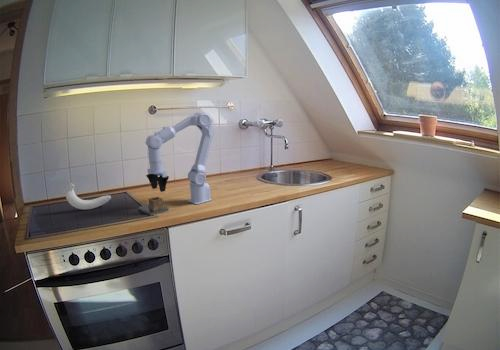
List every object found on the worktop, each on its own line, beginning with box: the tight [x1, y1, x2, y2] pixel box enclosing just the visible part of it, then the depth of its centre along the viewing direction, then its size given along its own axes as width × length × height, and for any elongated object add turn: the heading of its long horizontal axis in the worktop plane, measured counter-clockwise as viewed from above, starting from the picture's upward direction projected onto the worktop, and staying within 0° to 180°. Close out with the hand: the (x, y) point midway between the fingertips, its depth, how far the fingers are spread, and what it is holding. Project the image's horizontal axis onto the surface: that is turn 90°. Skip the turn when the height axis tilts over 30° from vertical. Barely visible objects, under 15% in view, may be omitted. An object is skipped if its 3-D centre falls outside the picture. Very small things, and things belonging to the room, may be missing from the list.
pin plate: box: [138, 199, 170, 216], centre depth 153 cm, size 9×12×4 cm
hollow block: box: [147, 196, 164, 211], centre depth 150 cm, size 5×5×5 cm
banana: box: [65, 182, 112, 211], centre depth 156 cm, size 5×19×15 cm, turn 123°
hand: (158, 189), depth 153 cm, fingers open, 7 cm apart
